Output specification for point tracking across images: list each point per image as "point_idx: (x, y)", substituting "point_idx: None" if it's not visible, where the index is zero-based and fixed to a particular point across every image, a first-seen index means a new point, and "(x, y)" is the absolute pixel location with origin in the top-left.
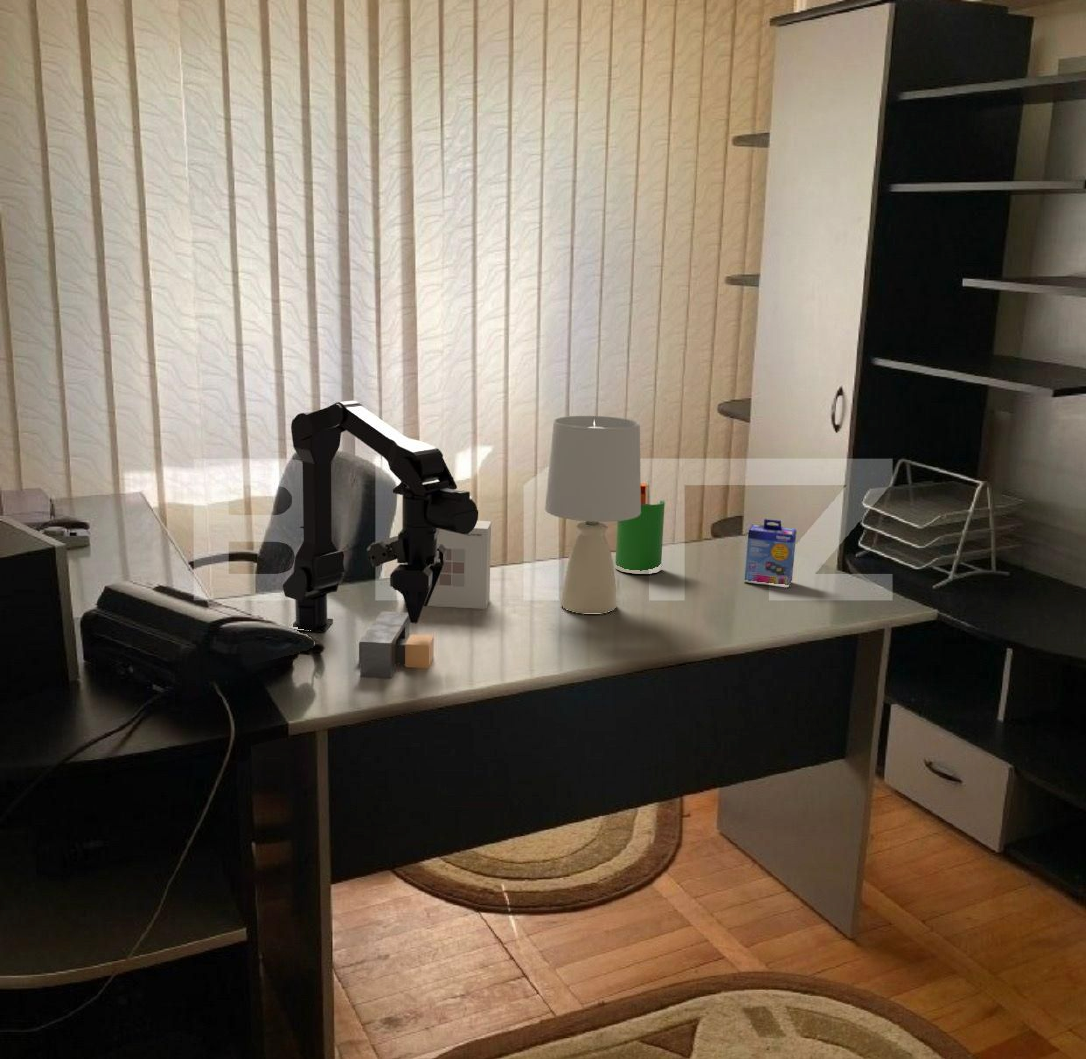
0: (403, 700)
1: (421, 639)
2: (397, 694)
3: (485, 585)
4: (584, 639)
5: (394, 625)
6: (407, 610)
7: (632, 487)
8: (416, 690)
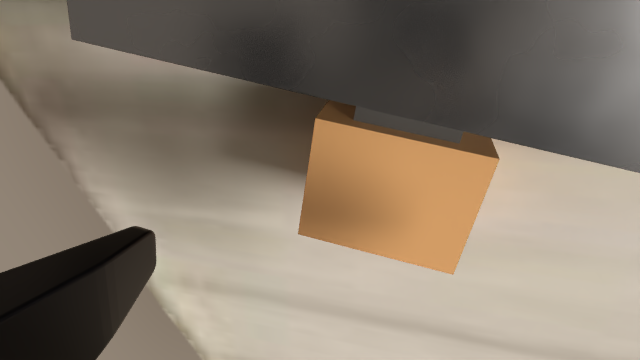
0: (8, 68)
1: (392, 210)
2: (49, 46)
3: None
4: None
5: (466, 70)
6: (1, 274)
7: None
8: (101, 117)
